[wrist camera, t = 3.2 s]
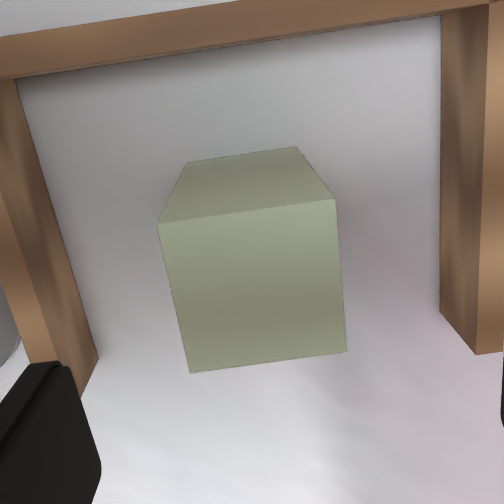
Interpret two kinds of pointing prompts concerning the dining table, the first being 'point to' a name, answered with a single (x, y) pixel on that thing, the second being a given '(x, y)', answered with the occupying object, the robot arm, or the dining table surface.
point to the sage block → (253, 261)
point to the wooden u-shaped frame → (245, 32)
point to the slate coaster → (7, 329)
